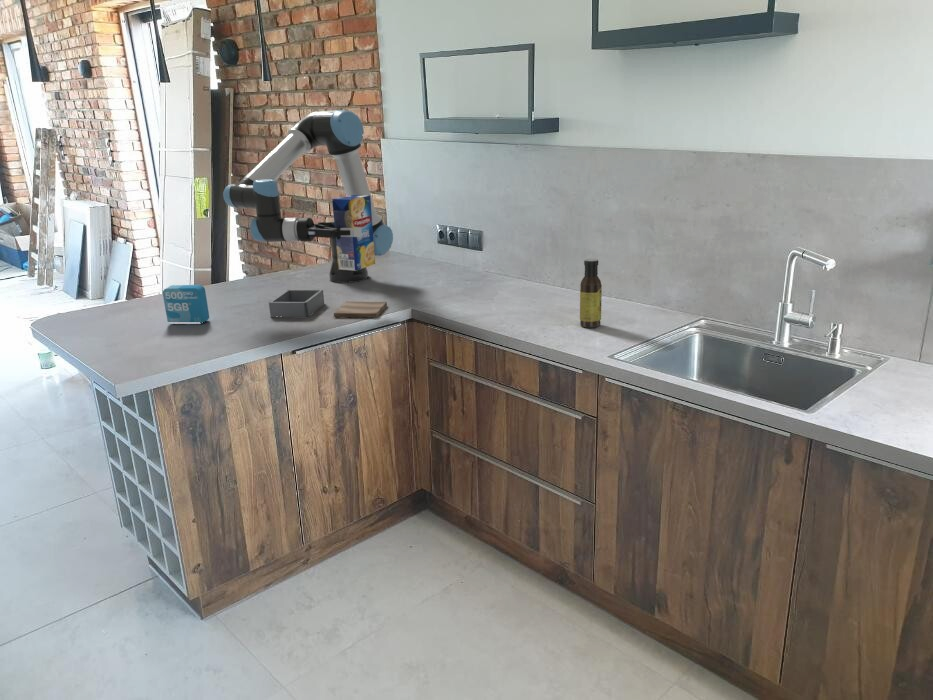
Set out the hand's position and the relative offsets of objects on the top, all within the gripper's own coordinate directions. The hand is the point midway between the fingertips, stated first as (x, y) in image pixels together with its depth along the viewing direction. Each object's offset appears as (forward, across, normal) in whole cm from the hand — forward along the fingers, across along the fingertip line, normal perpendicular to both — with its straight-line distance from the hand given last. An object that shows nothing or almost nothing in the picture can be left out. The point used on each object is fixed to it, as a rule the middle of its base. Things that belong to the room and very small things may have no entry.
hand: (366, 229), depth 224 cm
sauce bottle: (+70, +13, -27) cm, 76 cm away
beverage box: (-4, 0, -12) cm, 13 cm away
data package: (-57, +14, -28) cm, 65 cm away
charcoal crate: (-26, -1, -27) cm, 38 cm away
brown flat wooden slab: (-4, 0, -27) cm, 27 cm away
